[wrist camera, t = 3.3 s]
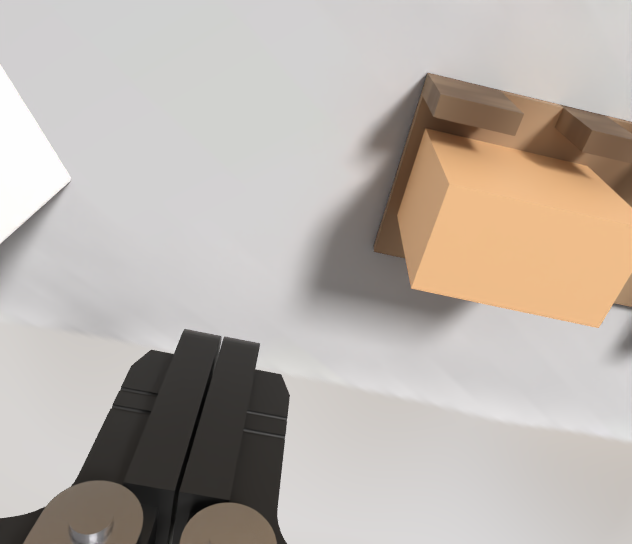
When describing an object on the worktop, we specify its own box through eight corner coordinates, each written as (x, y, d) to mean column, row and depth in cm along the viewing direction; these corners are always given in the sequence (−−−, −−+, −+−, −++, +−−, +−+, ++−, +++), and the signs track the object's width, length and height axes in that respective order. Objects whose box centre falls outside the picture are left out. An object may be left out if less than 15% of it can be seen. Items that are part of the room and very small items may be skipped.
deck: (797, 161, 23) (864, 195, 20) (690, 314, 27) (733, 361, 24) (427, 72, 22) (440, 94, 19) (373, 246, 26) (377, 286, 23)
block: (587, 166, 23) (656, 231, 18) (546, 248, 25) (598, 328, 20) (425, 128, 23) (449, 184, 18) (397, 215, 25) (411, 288, 20)
